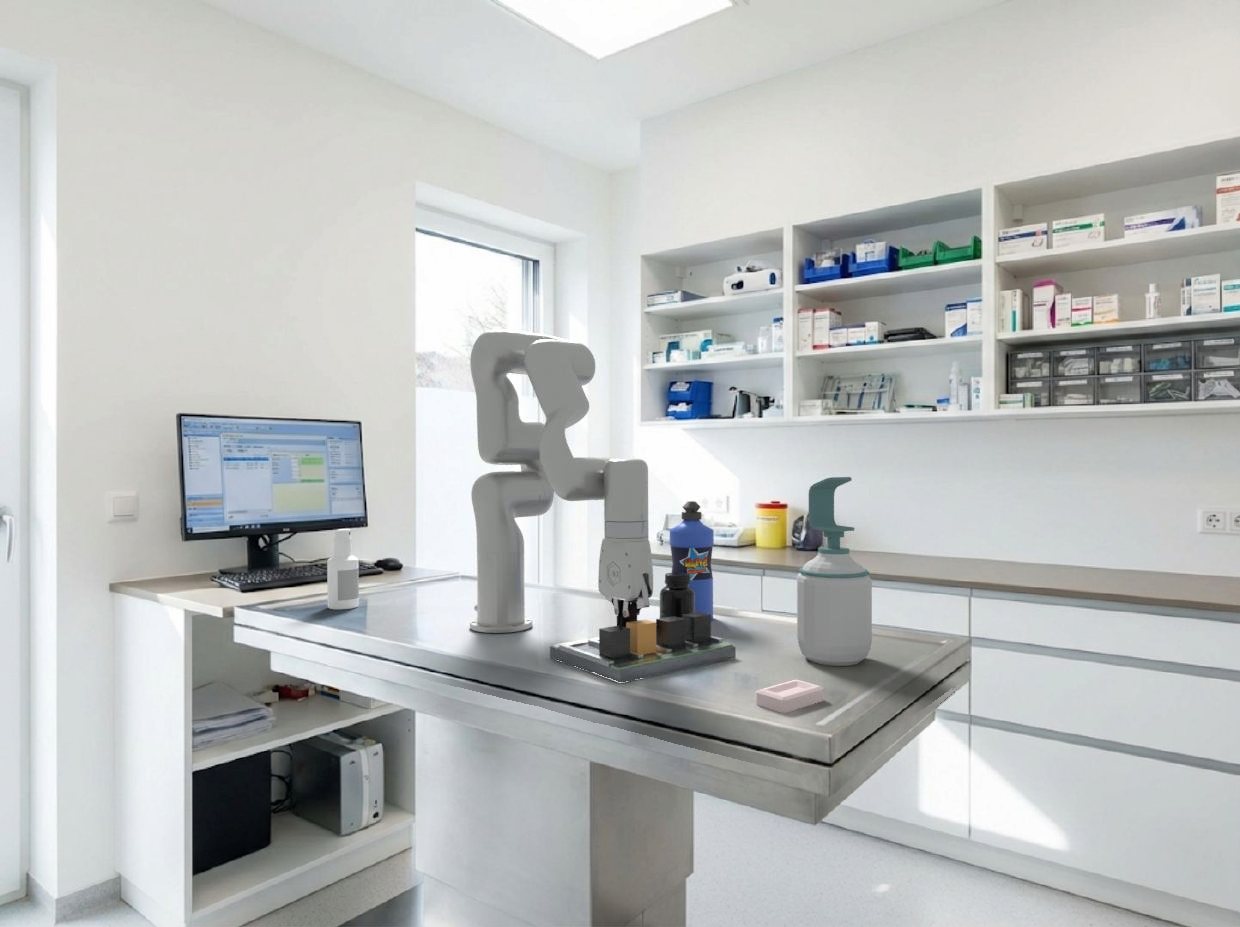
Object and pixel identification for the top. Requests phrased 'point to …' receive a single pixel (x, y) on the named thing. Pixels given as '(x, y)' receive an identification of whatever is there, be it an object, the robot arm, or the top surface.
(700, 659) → the breaker panel
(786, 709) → the soap bar
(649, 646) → the handle
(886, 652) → the top surface
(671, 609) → the supplement bottle
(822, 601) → the soap bottle
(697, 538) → the water bottle
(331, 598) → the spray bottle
